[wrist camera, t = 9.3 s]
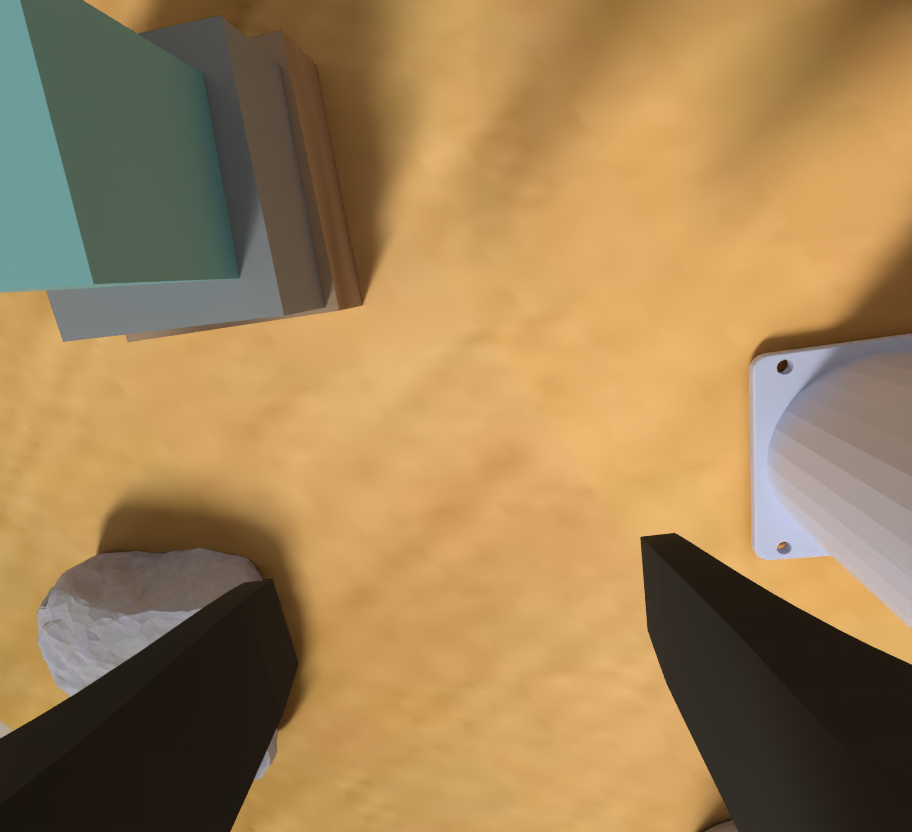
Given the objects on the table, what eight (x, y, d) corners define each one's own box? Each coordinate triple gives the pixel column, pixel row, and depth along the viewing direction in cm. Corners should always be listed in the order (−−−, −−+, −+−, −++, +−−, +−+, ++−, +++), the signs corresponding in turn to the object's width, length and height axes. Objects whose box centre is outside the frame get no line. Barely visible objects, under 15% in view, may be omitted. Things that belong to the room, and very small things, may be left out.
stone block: (285, 526, 24) (74, 543, 24) (255, 589, 20) (-8, 612, 19) (318, 710, 28) (136, 728, 27) (299, 798, 23) (80, 823, 23)
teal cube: (203, 73, 12) (8, -46, 7) (239, 278, 13) (93, 284, 9) (31, 95, 13) (-246, -1, 8) (81, 288, 14) (-130, 298, 9)
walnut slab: (321, 70, 17) (281, 30, 14) (366, 304, 19) (339, 310, 16) (120, 117, 18) (46, 89, 15) (182, 332, 20) (127, 342, 18)
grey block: (280, 65, 14) (221, 15, 12) (325, 307, 16) (284, 315, 13) (73, 107, 16) (-27, 70, 13) (138, 330, 17) (62, 341, 15)
